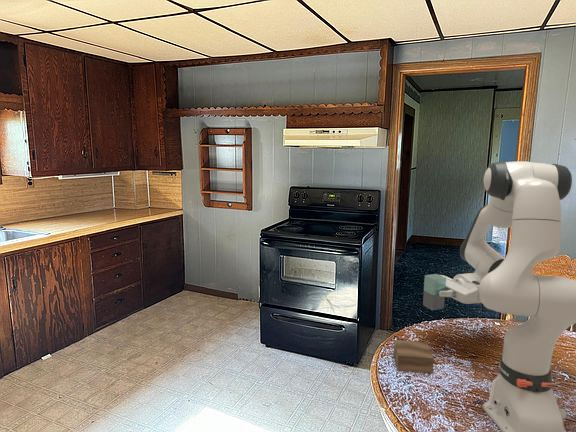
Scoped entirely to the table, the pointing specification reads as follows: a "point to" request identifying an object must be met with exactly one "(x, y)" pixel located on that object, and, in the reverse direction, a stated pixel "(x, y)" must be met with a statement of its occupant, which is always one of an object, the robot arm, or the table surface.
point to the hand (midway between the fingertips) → (432, 290)
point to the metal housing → (434, 291)
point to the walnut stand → (413, 356)
